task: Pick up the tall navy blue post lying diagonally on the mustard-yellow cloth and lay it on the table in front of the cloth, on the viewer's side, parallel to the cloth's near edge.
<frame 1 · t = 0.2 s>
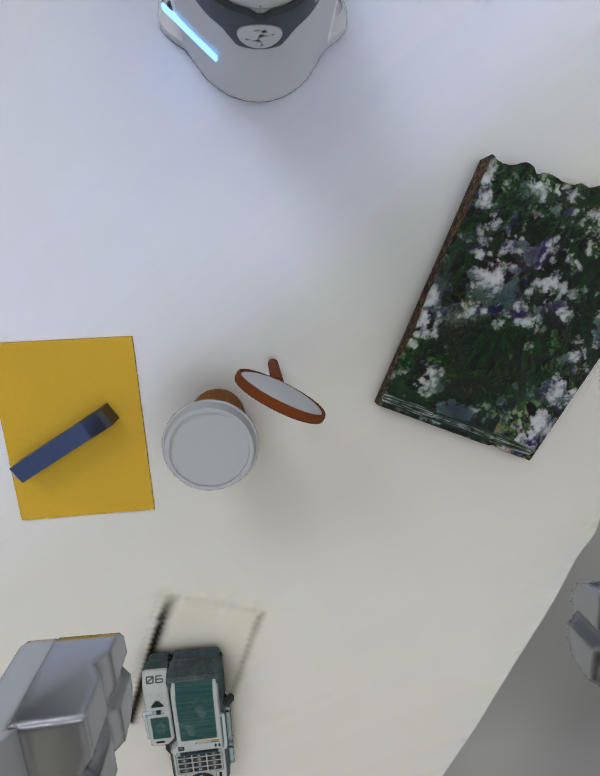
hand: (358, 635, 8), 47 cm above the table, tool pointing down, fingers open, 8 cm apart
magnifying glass: (272, 361, 55), on the table
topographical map: (518, 316, 57), on the table
disposable coffee cup: (218, 413, 56), on the table
communication device: (195, 710, 67), on the table
tall navy blue post: (67, 440, 55), resting on cloth
cloth: (75, 431, 55), on the table
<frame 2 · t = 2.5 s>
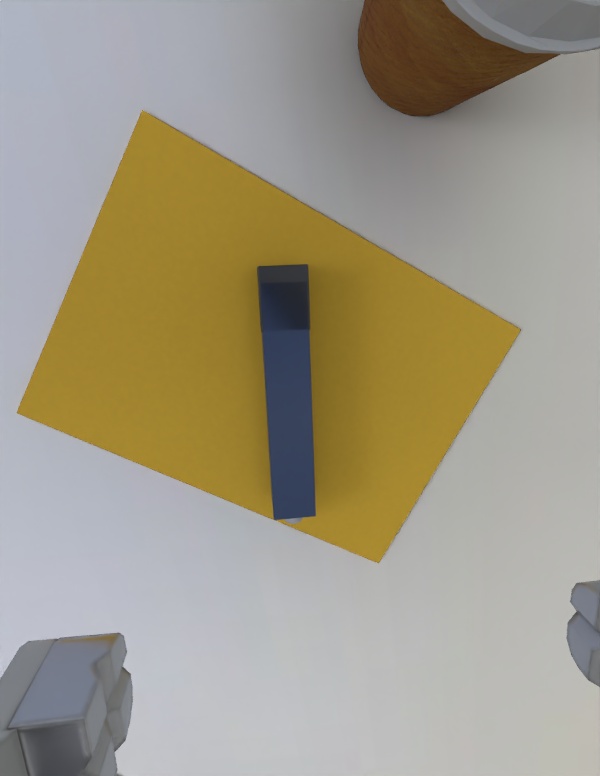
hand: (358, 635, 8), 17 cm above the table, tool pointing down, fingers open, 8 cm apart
disposable coffee cup: (421, 44, 22), on the table
tall navy blue post: (285, 394, 25), resting on cloth
cloth: (277, 369, 24), on the table
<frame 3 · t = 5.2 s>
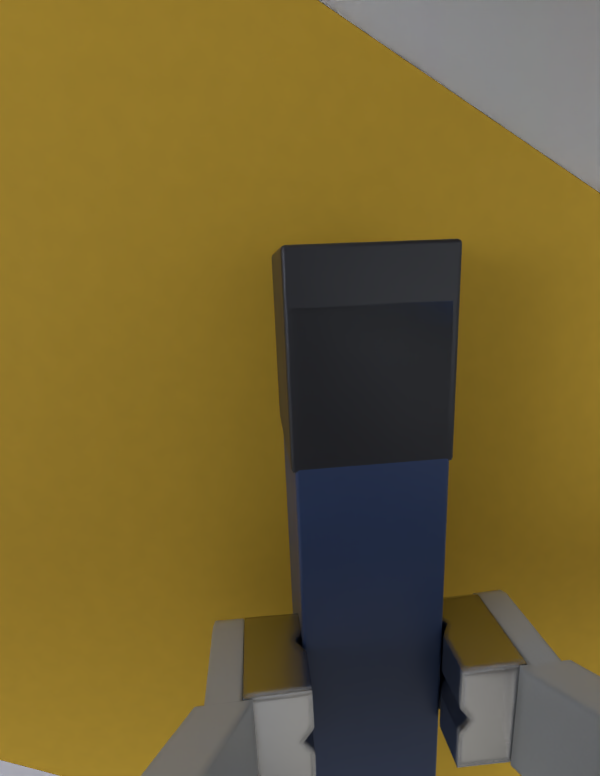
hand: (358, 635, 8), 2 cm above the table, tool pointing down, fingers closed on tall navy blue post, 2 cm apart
tall navy blue post: (342, 579, 10), resting on cloth, touching gripper
cloth: (321, 518, 10), on the table
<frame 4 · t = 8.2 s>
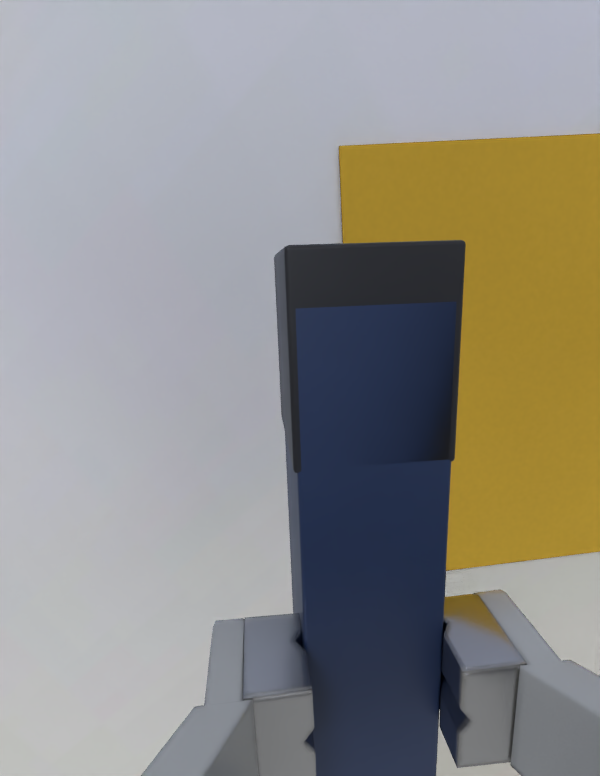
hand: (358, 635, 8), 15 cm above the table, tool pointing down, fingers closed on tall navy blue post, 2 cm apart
tall navy blue post: (343, 579, 10), point 13 cm above the table, touching gripper
cloth: (502, 375, 23), on the table
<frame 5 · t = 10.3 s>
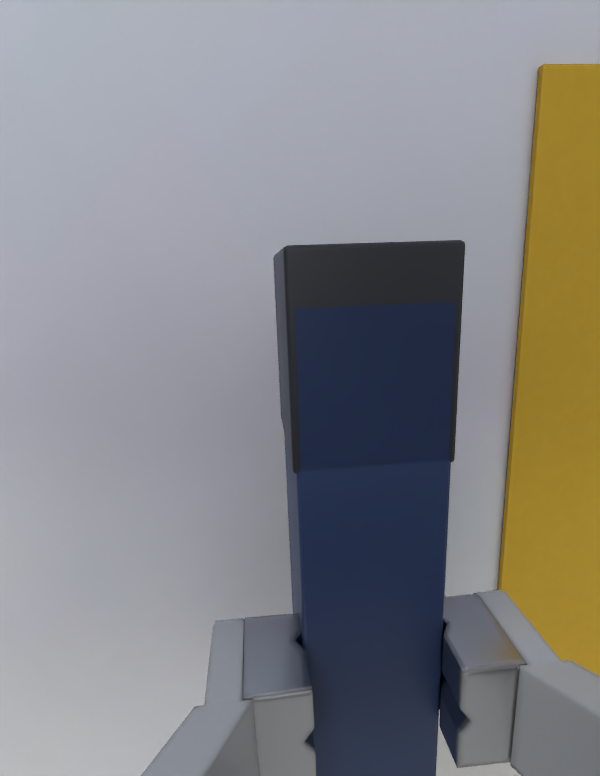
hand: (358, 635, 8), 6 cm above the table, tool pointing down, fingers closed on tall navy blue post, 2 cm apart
tall navy blue post: (342, 580, 10), point 4 cm above the table, touching gripper
when the fingers open (1 cm above the table, at t = 11.6 s): tall navy blue post stays where it is, on the table.
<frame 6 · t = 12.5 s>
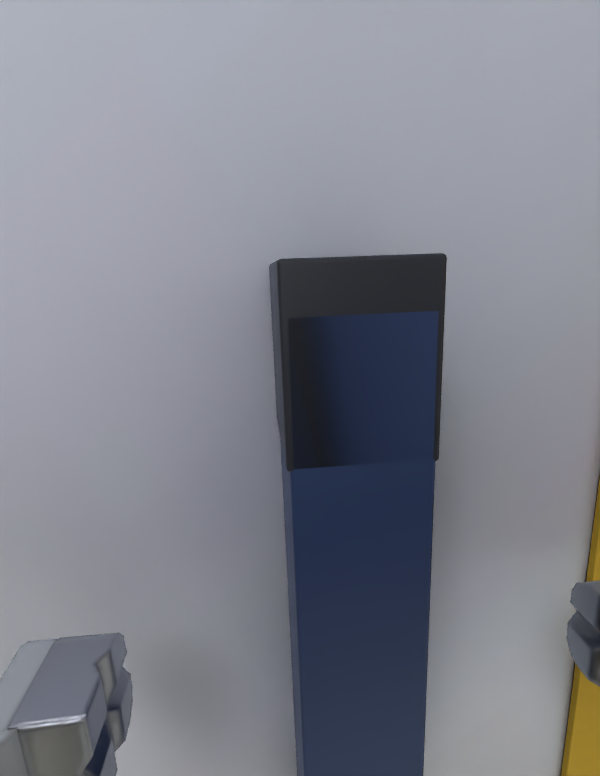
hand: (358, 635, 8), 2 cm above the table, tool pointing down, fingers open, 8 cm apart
tall navy blue post: (336, 574, 10), on the table
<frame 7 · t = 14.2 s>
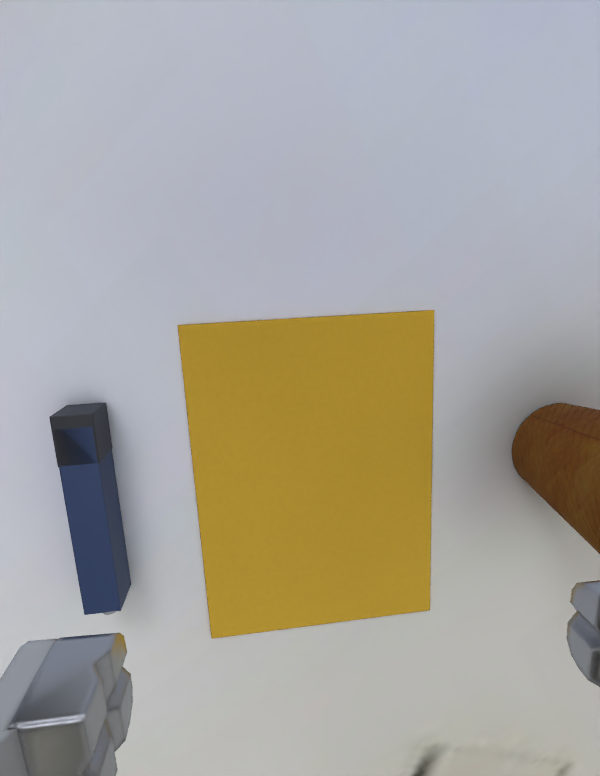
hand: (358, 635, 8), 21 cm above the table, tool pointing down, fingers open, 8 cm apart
disposable coffee cup: (551, 444, 33), on the table
tall navy blue post: (101, 504, 29), on the table
cloth: (316, 481, 31), on the table
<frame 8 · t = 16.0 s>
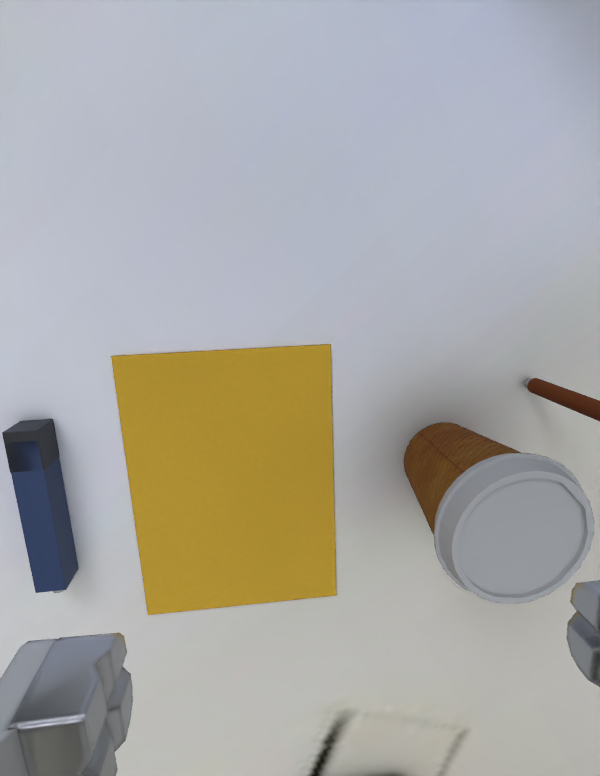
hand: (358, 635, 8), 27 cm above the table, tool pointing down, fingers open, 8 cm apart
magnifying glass: (525, 381, 37), on the table
disposable coffee cup: (439, 457, 38), on the table
tall navy blue post: (52, 502, 35), on the table
cloth: (234, 486, 36), on the table
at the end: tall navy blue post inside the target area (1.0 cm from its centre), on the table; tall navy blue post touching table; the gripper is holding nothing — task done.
